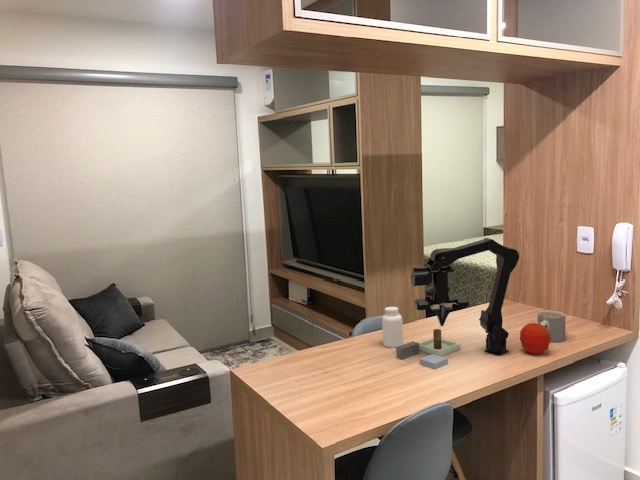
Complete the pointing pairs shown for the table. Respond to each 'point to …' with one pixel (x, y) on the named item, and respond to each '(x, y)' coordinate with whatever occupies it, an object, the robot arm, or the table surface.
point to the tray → (446, 349)
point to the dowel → (437, 339)
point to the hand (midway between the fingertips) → (441, 325)
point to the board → (433, 361)
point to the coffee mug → (553, 324)
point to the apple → (535, 338)
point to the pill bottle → (392, 328)
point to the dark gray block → (407, 350)
